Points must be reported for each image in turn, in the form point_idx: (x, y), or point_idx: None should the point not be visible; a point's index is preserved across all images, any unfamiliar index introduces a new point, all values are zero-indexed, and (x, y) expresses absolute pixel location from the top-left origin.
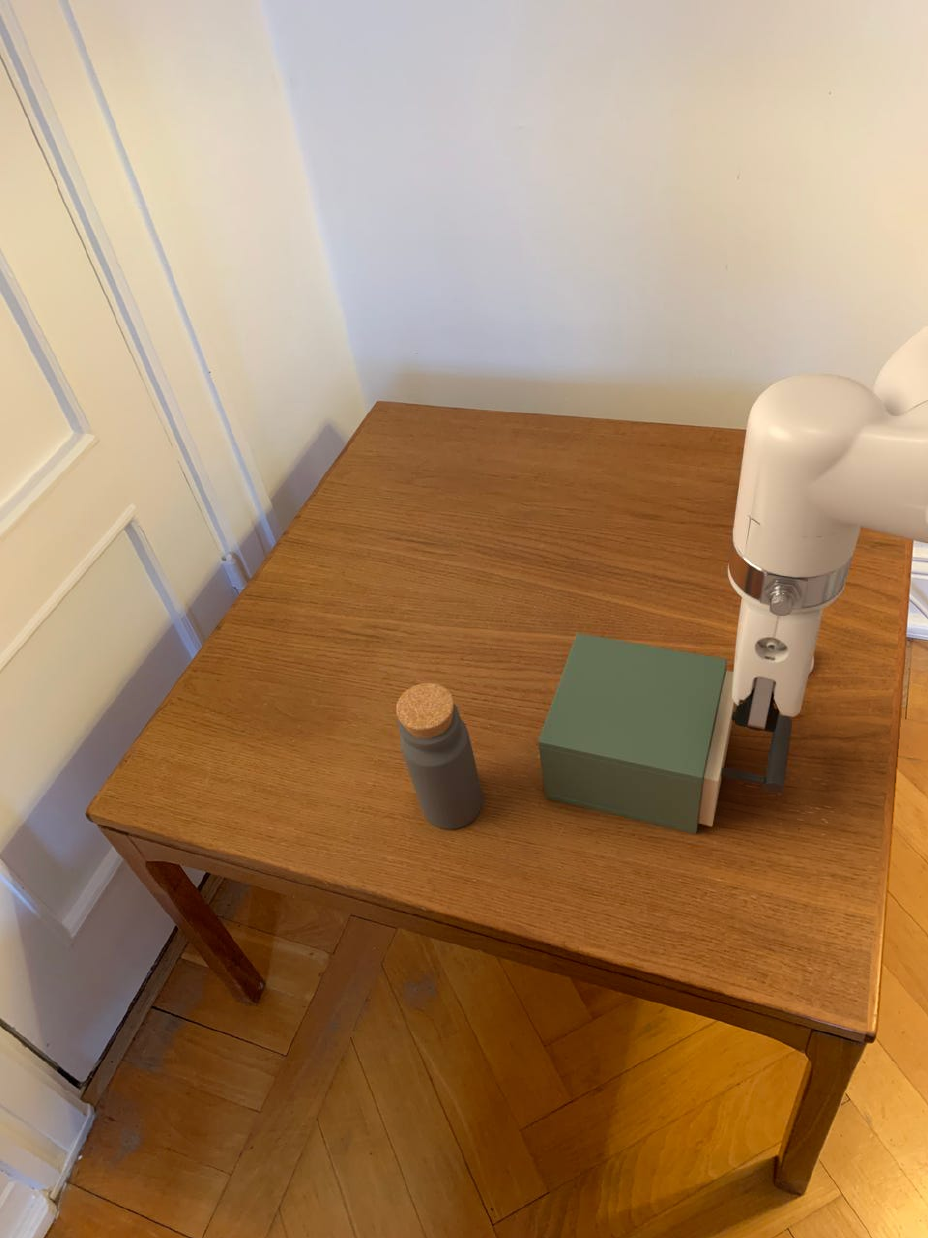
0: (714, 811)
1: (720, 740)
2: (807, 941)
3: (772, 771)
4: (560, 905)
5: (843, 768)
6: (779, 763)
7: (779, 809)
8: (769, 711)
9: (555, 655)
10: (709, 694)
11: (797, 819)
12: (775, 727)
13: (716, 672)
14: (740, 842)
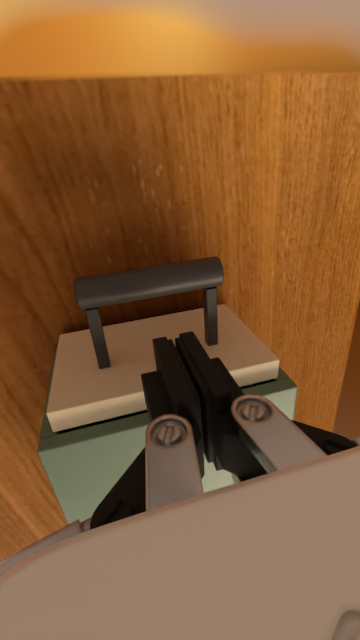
0: (238, 318)
1: None
2: (324, 160)
3: (202, 284)
4: (319, 381)
5: (51, 156)
6: (183, 279)
7: (163, 234)
8: (344, 438)
9: (58, 513)
10: (138, 440)
11: (170, 207)
12: (195, 337)
13: (81, 451)
14: (223, 265)
